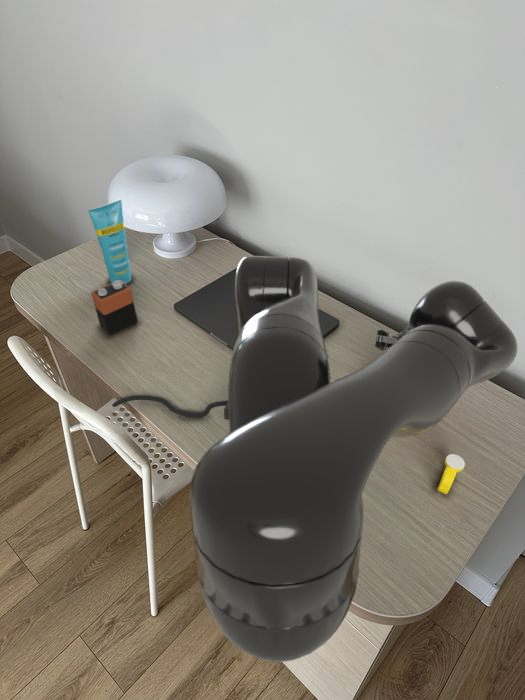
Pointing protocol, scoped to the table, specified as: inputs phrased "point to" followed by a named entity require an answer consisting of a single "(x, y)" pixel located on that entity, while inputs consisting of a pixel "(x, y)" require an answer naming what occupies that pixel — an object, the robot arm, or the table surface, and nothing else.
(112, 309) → the battery
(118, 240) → the tube
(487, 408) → the table surface
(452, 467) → the yellow flashlight
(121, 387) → the table surface
